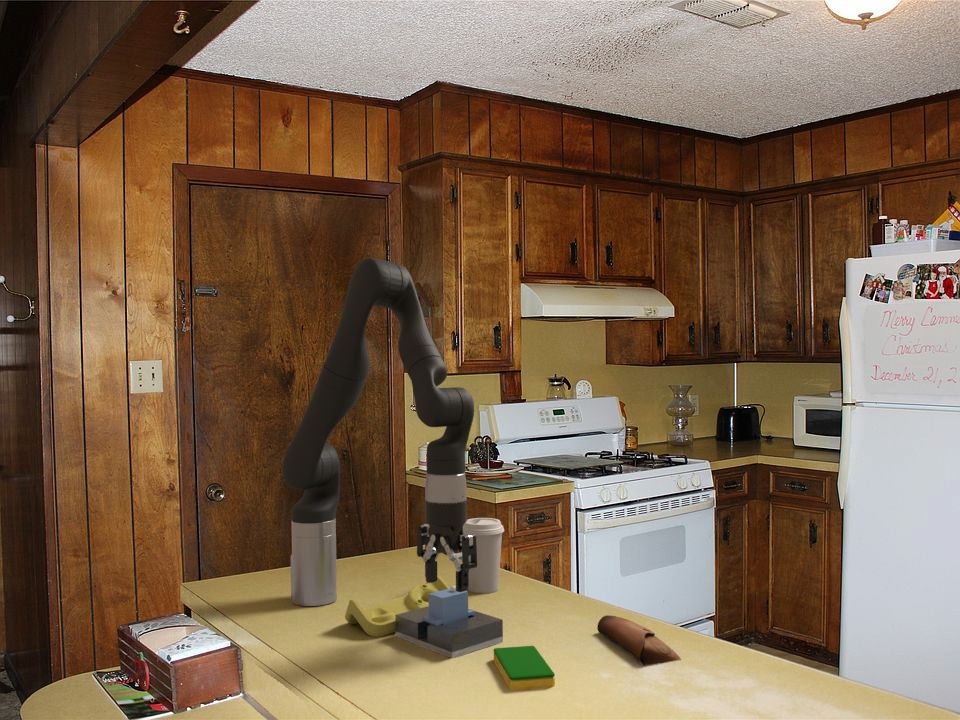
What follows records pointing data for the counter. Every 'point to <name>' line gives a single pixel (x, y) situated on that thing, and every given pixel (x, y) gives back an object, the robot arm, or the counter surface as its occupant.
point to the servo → (447, 607)
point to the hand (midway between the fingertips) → (446, 586)
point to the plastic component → (391, 609)
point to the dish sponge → (523, 668)
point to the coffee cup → (485, 554)
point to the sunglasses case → (636, 640)
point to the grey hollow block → (449, 632)
